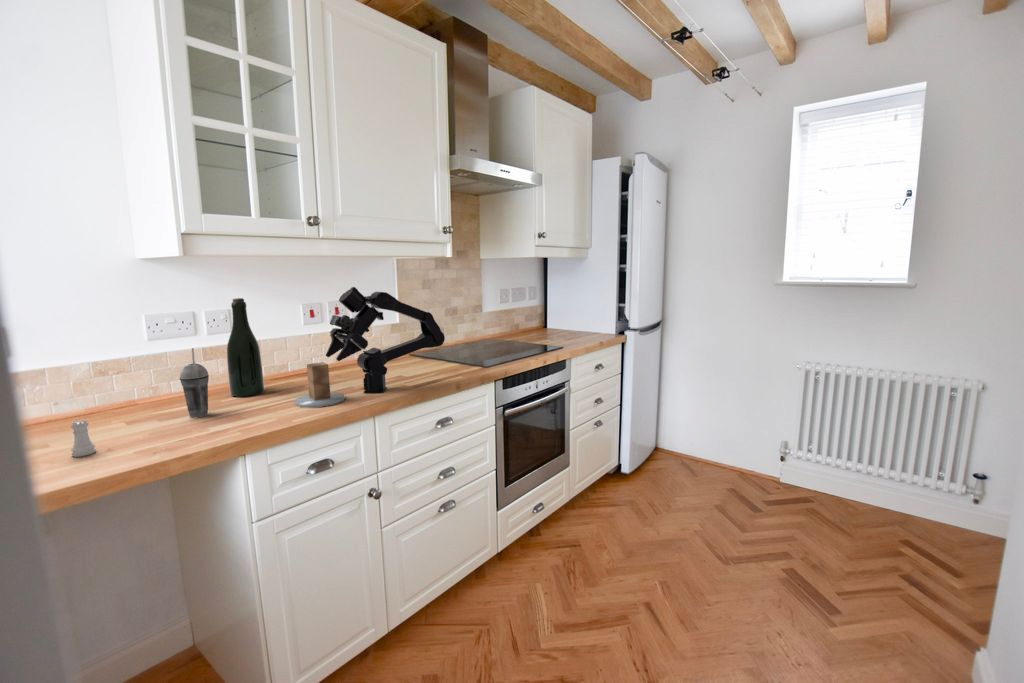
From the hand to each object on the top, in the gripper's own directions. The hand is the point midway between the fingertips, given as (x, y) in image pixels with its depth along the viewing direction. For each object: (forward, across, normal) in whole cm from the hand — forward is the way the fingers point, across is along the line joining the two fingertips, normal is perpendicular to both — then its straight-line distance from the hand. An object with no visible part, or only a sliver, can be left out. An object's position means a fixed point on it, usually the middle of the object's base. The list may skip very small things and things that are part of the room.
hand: (332, 358), depth 159 cm
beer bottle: (+24, -28, -4) cm, 37 cm away
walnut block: (+12, 0, +5) cm, 13 cm away
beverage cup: (+36, -10, -16) cm, 41 cm away
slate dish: (+13, 0, +6) cm, 14 cm away
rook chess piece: (+54, +8, -35) cm, 64 cm away
